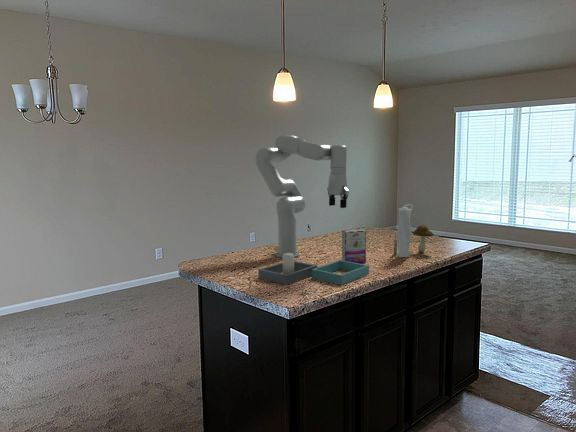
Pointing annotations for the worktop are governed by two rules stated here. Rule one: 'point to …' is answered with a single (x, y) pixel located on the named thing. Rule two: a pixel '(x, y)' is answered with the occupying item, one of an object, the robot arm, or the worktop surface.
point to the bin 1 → (274, 274)
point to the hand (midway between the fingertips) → (337, 206)
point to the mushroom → (422, 236)
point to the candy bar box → (354, 246)
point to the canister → (288, 263)
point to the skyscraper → (403, 233)
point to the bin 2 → (326, 275)
